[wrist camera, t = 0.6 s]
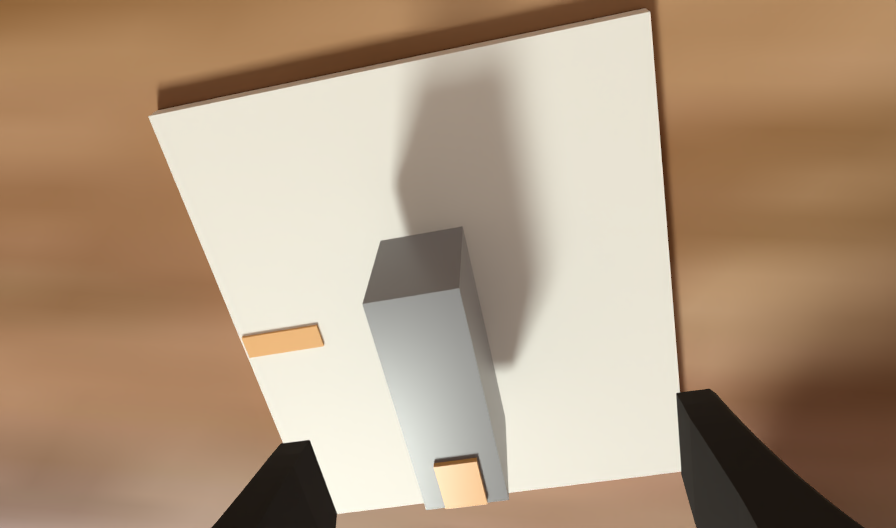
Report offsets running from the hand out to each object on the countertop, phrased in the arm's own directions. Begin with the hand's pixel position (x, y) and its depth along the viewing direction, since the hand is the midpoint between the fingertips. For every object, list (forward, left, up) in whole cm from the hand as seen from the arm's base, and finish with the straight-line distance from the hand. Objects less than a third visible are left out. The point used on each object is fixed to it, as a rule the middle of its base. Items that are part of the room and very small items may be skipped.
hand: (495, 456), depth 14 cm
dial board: (-2, +2, -9) cm, 10 cm away
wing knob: (-2, +2, -9) cm, 9 cm away
